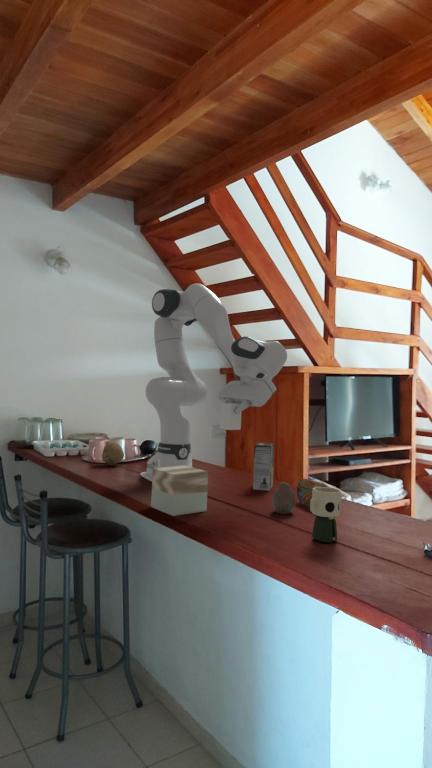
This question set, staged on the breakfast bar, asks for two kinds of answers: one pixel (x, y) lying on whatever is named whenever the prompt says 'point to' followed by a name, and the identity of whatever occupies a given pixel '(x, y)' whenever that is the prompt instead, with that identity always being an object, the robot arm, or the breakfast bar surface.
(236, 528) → the breakfast bar surface
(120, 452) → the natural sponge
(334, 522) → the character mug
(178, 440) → the robot arm
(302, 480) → the tin
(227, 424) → the offwhite block
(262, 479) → the coffee box
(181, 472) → the tower top
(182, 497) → the tower base
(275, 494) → the vase
